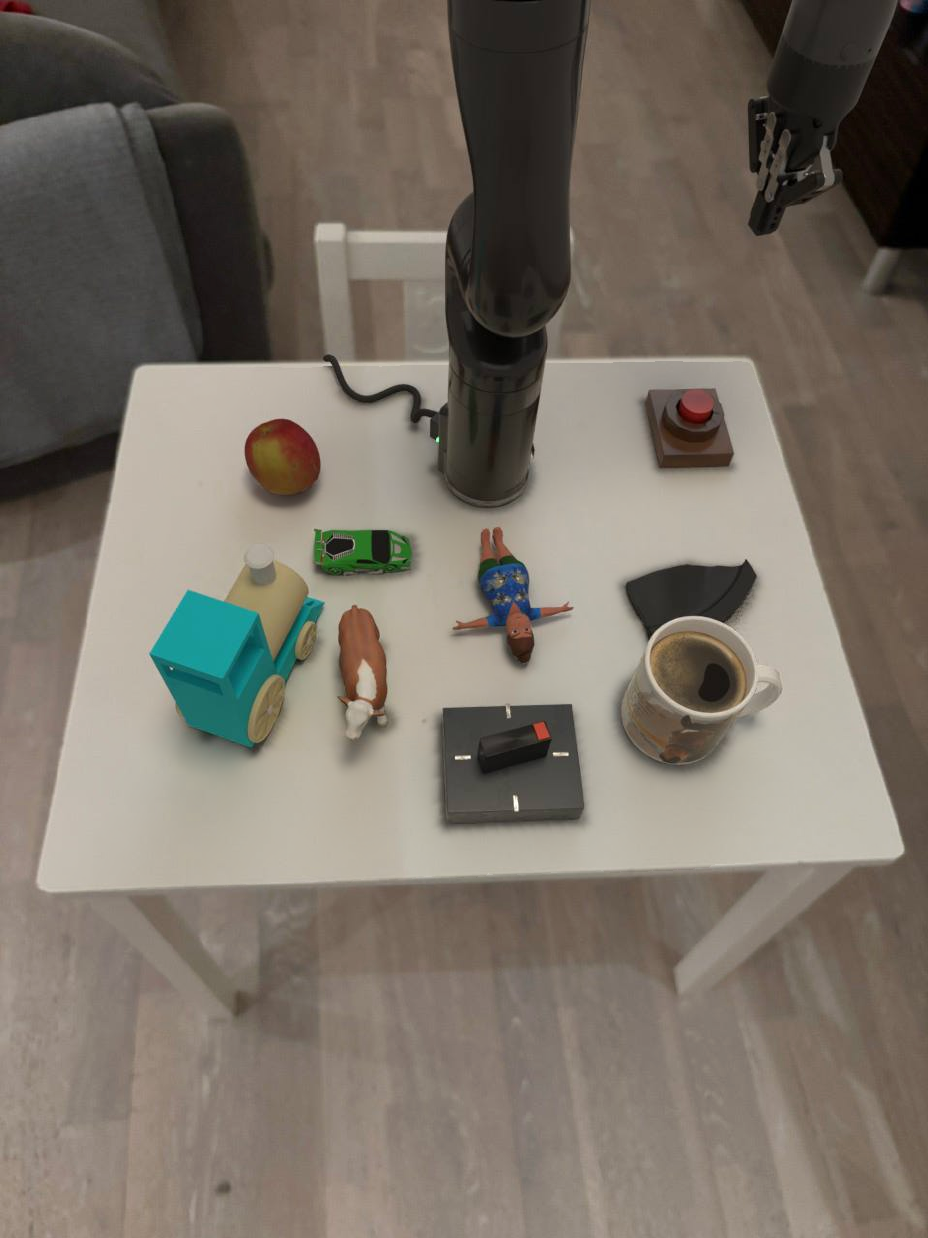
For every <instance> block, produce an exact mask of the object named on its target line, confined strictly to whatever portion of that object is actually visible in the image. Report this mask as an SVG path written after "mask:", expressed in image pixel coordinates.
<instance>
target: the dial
mask: <svg viewBox="0 0 928 1238" xmlns="http://www.w3.org/2000/svg"><path fill="white" fill-rule="evenodd" d="M551 741H552V737H551V735H550V732H549V729H548V727H547V724H546V722H545V721H542V722H539V723H535V724H531V725H528V726H524V727H520V728H517V729H513V730H509V731H506V732H502V733H498V734H495V735H491V736H487V737H484V738H480V740H479V747H478V754H477V757H478V760H479V763H480V766H481V769H482V772H483V774H485V773H489V772H492V771H496V770H499V769H503V768H506V767H510V766H514V765H517V764H521V763H524V762H528V761H531V760H535V759H538V758H542V757H546V756H547V753H548V750H549V747H550V744H551Z"/></svg>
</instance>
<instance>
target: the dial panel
mask: <svg viewBox="0 0 928 1238" xmlns="http://www.w3.org/2000/svg"><path fill="white" fill-rule="evenodd" d="M441 716H442V717H441V725H442V726H441V727H442V729H441V730H442V751H443V773H444V774H443V775H444V798H445V800H444V801H445V821H446V822H445V823H446V824H466V823H467V824H468V823H495V822H519V821H520V822H521V821H547V820H549V821H550V820H572V819H573V820H574V819H575V820H576V819H580V818H581V816H582V813H583V811H584V810H585V802H584V793H583V784H582V783H583V782H582V777H581V776H582V775H581V768H580V759H579V752H578V742H577V736H576V735H577V734H576V726H575V719H574V718H575V717H574V709H573V704H572V703H560V704H557V703H556V704H529V705H510V703H505V705H496V706H495V705H494V706H493V705H490V706H460V707H459V706H457V707H443V708H442V715H441ZM542 721H545V722H546V724H547V727H548V729H549V732H550V735H551V737H552V741H551V744H550V747H549V750H548V753H547V756H546V757H542V758H538V759H535V760H531V761H528V762H524V763H521V764H517V765H514V766H510V767H506V768H503V769H499V770H496V771H492V772H489V773H485V774H483V772H482V769H481V766H480V763H479V760H478V757H477V754H478V747H479V740H480V738H484V737H487V736H491V735H495V734H498V733H502V732H506V731H509V730H513V729H517V728H520V727H524V726H528V725H531V724H535V723H539V722H542Z"/></svg>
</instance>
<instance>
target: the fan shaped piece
mask: <svg viewBox="0 0 928 1238" xmlns="http://www.w3.org/2000/svg"><path fill="white" fill-rule="evenodd" d="M750 563H751V562H749V561H748V560H747V558H744V561H743V562H742V564H740V565H736V566H734V565H733V566H732V565H731V566H730V565H714V566H712V565H711V566H707V565H701V564H700V565H698V564H688V563H686V564H685V563H684V564H680V565H676V566H671V567H666V568H663V569H659V570H654V571H652V572H650V573H647V574H645V575H641V576H639V577H637V578H635V579H633V580H629V581H627V582H626V583H625V588H626V590H627V592H628V595H629V598H630V600H631V602H632V604H633V606H634V608H635V610H636V612H637V613H638V615H639V617H640V618H641V620H642V621H643V623H644V624H645V625H646V627H647V628H648V631H649V632H650V633H651V634H650V635H651V636H652V635H653V634H654V633H655V631H656V630H657V629H659V628H660V627H661V626H662V625H664V624H666V623H667V622H669V621H672V620H674V619H677V618H681V617H687V616H701V617H706V618H711V619H714V620H717V621H720V622H722V623H724V624H725V622H726V621H727V620H728V619H729V618H731V617H732V616H733V615H734V614H735V612H736V611H737V610H738V609H739V608H740V606H741V605H742V603H744V601H745V599H746V598H747V596H748V595H749V593H750V591H751V590H752V588H753V586H754V584H755V582H756V580H757V577H758V576H757V573H756V572H755V569H753V566H752V565H751V564H750Z"/></svg>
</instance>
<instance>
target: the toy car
mask: <svg viewBox="0 0 928 1238" xmlns="http://www.w3.org/2000/svg"><path fill="white" fill-rule="evenodd" d="M313 531H314V541H313V553H314V554H313V555H314V561H313V562H312V563H313V565H315V566H321V569H322V570H323V571H324V572H326V573H327V574H331V575H333V576H334V575H335V576H337V575H341V574H342V575H343V576H350V575H357V574H359V573H367V574H370V575H376V574H377V575H378V574H379V575H380V574H383V573H384V572H386V573H394V572H401V571H406V570H410V569H411V565H412V562H411V558H412V555H413V553H412V551H413V550H412V546H411V544H410V538H407V537H406V536H405V535H402V534H399V533H397V532H396V531H393V530H389V529H353V530H352V529H351V530H348V529H347V530H345V529H331V530H325V531H323V530H322V529H321V528H314V529H313Z"/></svg>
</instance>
